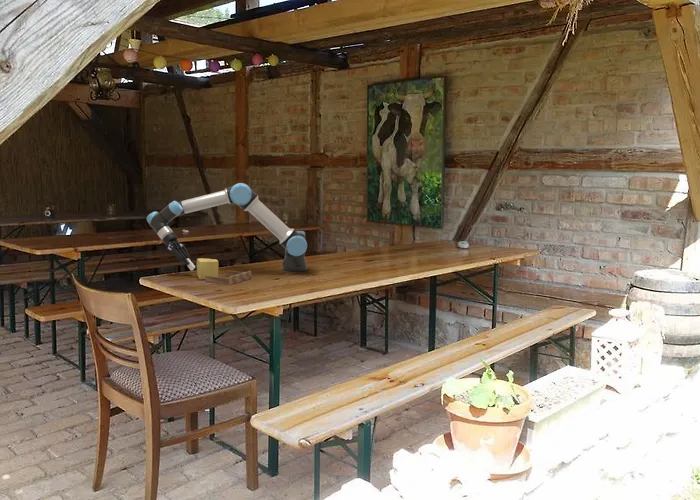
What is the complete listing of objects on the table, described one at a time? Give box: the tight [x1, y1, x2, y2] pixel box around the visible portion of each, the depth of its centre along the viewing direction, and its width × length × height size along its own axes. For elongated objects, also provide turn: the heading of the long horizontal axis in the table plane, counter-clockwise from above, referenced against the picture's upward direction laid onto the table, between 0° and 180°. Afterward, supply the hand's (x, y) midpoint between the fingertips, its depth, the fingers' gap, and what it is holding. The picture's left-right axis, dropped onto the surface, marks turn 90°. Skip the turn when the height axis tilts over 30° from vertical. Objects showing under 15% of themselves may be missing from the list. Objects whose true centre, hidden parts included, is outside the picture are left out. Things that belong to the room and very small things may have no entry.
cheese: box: [196, 257, 219, 280], centre depth 328 cm, size 10×11×10 cm
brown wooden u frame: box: [204, 270, 252, 286], centre depth 324 cm, size 20×15×4 cm
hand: (193, 268), depth 331 cm, fingers closed
